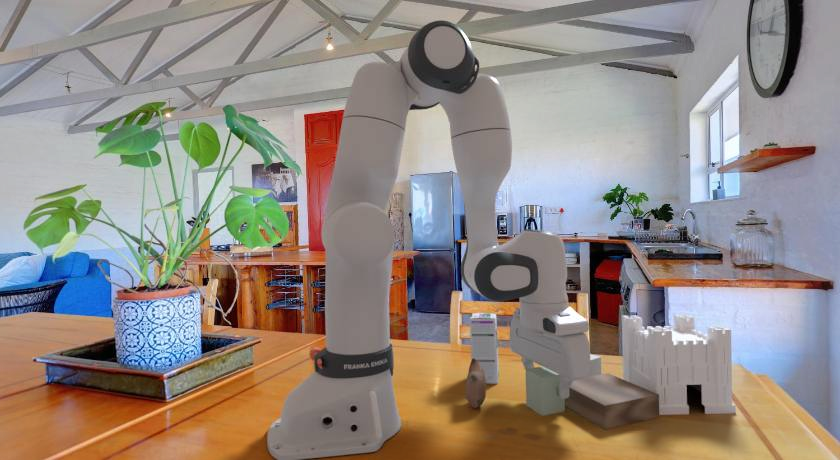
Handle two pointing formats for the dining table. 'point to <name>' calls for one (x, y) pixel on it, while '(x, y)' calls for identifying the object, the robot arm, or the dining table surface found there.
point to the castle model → (679, 363)
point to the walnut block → (611, 401)
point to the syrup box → (485, 344)
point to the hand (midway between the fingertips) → (546, 388)
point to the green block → (543, 391)
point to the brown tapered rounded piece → (475, 384)
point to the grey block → (595, 365)
